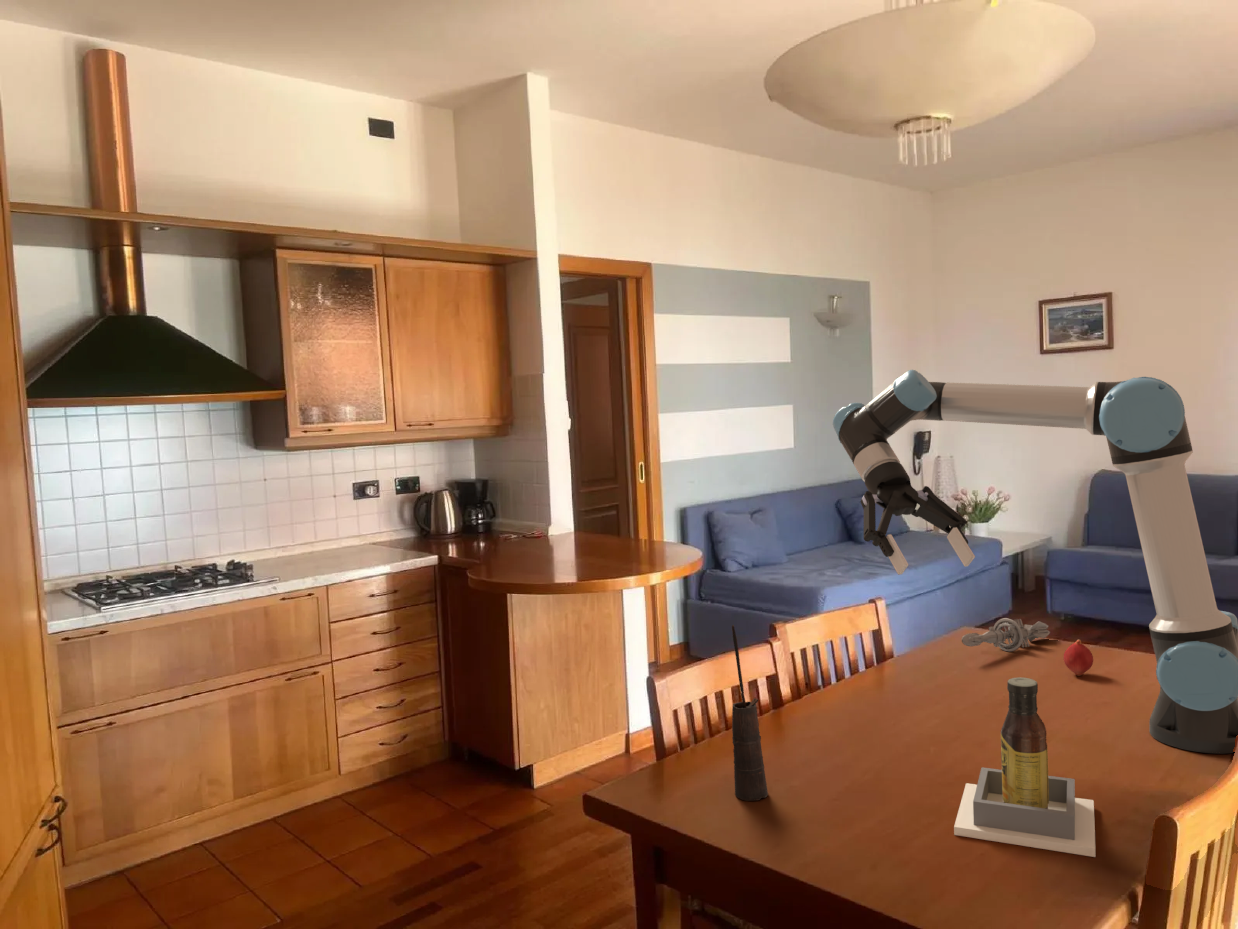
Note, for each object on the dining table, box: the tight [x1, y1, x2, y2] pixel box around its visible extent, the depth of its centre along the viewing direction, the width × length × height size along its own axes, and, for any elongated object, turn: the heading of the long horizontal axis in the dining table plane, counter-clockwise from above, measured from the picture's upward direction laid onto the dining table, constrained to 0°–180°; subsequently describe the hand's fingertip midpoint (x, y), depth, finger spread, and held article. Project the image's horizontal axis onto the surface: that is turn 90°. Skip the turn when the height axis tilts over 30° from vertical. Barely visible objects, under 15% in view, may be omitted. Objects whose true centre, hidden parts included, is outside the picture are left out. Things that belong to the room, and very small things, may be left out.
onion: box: [1063, 639, 1094, 677], centre depth 200 cm, size 6×6×8 cm
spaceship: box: [961, 617, 1051, 653], centre depth 221 cm, size 8×35×8 cm
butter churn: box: [731, 624, 769, 802], centre depth 149 cm, size 9×10×28 cm
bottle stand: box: [953, 766, 1096, 858], centre depth 135 cm, size 18×16×5 cm
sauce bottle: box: [1000, 676, 1049, 809], centre depth 134 cm, size 6×6×20 cm
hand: (937, 566), depth 157 cm, fingers open, 13 cm apart
